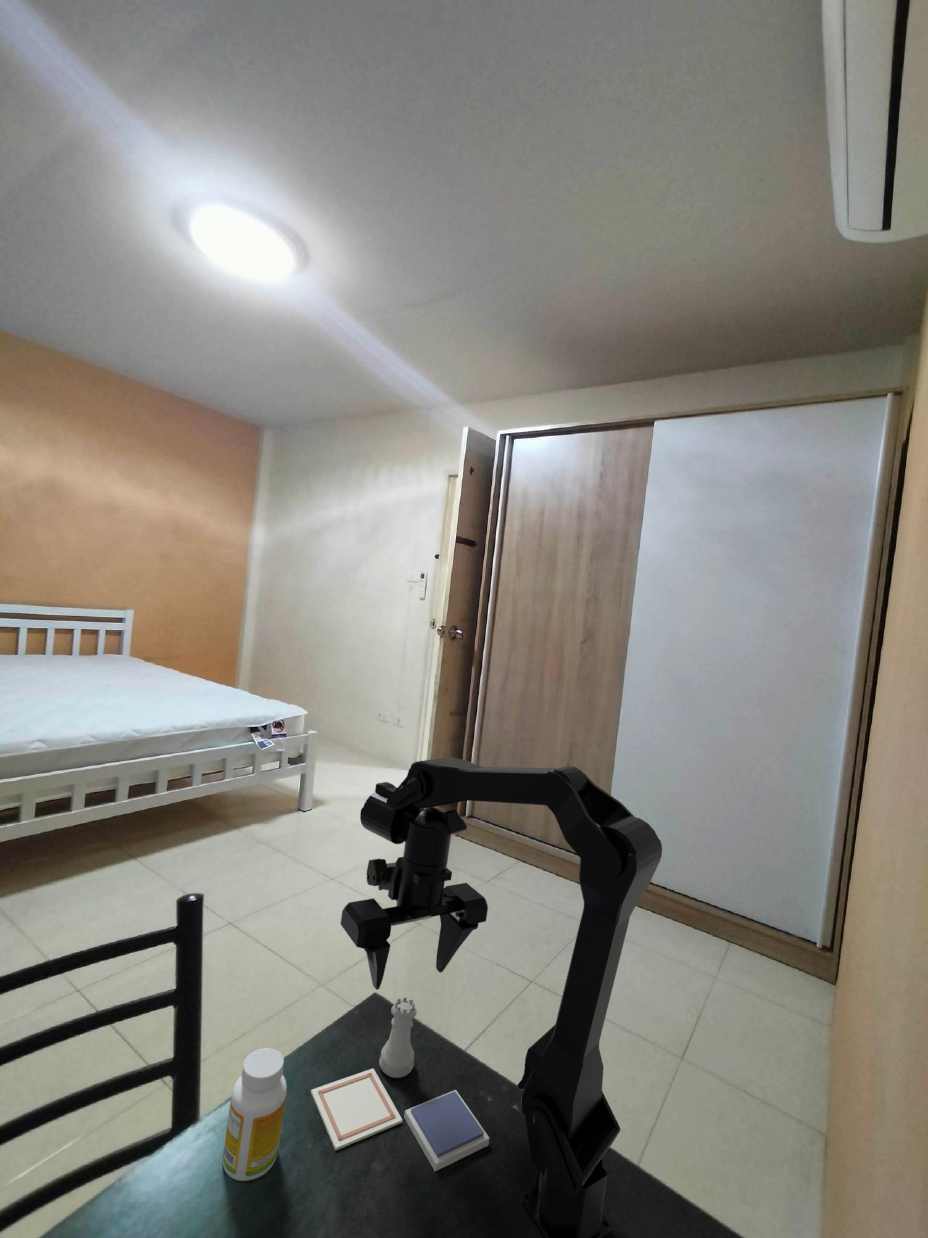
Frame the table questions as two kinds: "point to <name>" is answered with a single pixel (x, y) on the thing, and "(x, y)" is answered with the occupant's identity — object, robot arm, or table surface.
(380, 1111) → the marked square board
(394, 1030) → the rook chess piece
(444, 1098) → the ink pad
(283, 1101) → the supplement bottle
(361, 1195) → the table surface
